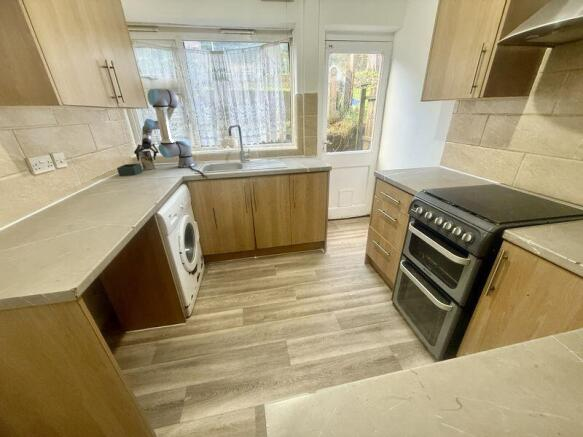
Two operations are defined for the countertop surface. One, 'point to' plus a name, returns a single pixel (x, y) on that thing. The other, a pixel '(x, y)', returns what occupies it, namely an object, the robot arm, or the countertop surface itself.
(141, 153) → the coffee box
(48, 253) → the countertop surface
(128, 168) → the tote
